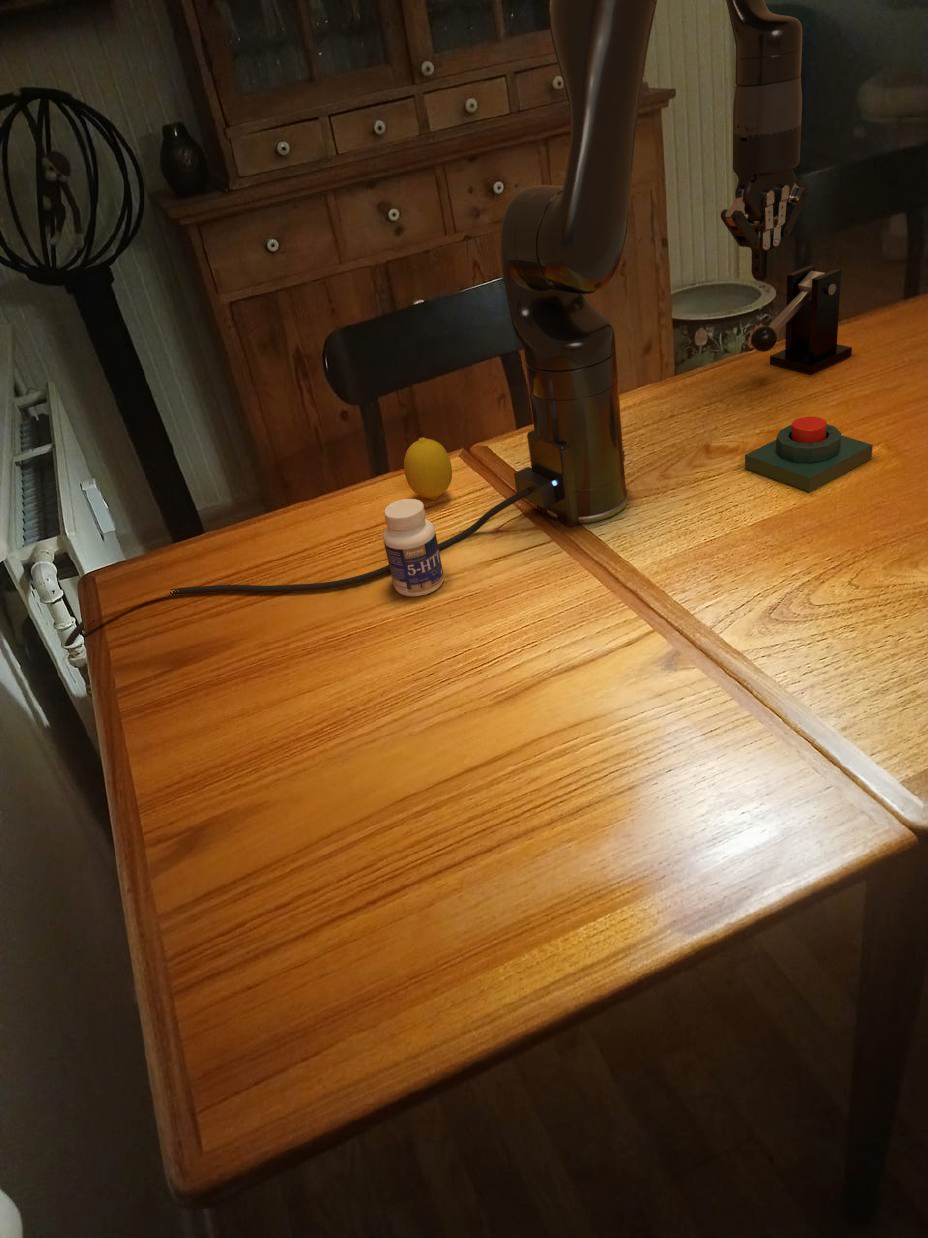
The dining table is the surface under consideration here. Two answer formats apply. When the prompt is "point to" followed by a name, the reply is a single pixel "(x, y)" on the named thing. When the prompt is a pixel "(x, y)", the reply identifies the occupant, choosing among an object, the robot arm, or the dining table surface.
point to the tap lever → (783, 316)
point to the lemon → (427, 468)
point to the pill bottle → (412, 549)
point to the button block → (808, 458)
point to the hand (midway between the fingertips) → (763, 278)
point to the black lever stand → (813, 325)
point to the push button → (808, 430)
